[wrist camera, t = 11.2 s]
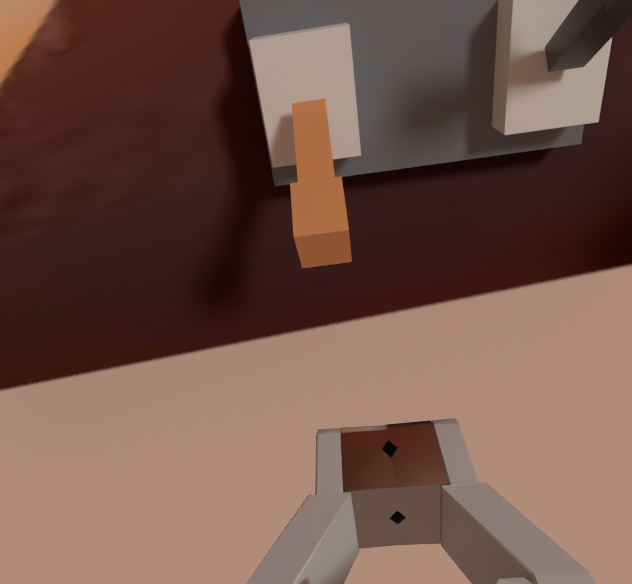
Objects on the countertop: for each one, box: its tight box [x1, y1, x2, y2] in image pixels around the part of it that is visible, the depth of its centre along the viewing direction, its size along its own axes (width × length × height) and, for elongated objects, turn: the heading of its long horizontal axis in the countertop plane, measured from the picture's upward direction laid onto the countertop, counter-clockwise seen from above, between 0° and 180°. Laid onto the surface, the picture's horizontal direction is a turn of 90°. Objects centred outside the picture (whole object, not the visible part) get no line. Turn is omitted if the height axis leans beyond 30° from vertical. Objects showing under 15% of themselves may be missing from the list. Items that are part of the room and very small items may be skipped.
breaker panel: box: [239, 0, 612, 186], centre depth 37 cm, size 26×14×6 cm, turn 98°
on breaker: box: [545, 0, 632, 72], centre depth 27 cm, size 3×4×12 cm
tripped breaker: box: [290, 98, 352, 268], centre depth 32 cm, size 3×4×12 cm
